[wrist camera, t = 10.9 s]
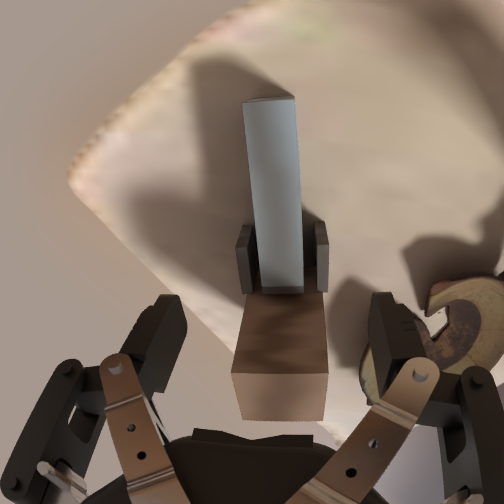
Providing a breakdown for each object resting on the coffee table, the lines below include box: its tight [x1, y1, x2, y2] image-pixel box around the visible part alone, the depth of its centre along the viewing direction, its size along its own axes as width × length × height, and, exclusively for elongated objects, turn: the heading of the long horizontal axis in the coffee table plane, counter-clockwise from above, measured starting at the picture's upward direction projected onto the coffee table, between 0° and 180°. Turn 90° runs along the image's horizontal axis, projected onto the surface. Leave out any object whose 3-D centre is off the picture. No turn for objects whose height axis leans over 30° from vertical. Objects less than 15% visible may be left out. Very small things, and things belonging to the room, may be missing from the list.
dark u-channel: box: [231, 222, 329, 421], centre depth 28 cm, size 8×12×14 cm, turn 6°
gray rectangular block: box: [242, 96, 304, 294], centre depth 27 cm, size 4×16×6 cm, turn 6°
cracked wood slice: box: [359, 271, 504, 406], centre depth 32 cm, size 22×30×8 cm
